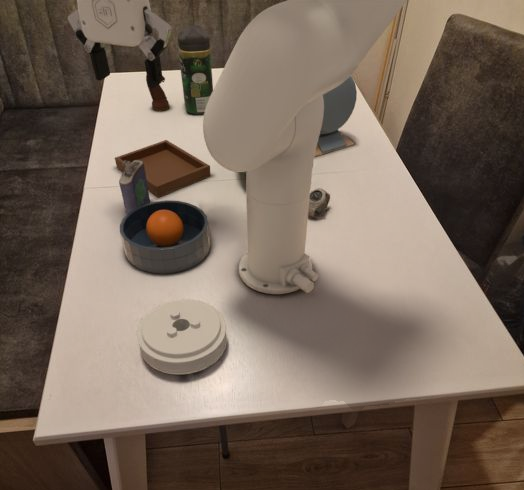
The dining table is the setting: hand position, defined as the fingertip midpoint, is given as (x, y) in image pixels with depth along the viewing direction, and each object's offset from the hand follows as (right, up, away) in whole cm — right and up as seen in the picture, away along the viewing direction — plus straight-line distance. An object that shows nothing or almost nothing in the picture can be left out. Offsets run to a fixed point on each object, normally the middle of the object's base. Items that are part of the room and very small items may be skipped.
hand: (129, 81), depth 78 cm
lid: (+10, -43, -7) cm, 45 cm away
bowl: (+5, -25, +10) cm, 27 cm away
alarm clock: (+36, +6, +39) cm, 53 cm away
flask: (-3, -17, +17) cm, 24 cm away
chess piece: (-6, +22, +52) cm, 57 cm away
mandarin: (+5, -22, +7) cm, 24 cm away
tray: (0, -4, +28) cm, 29 cm away
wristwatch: (+33, -16, +18) cm, 41 cm away
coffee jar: (+5, +22, +52) cm, 57 cm away
